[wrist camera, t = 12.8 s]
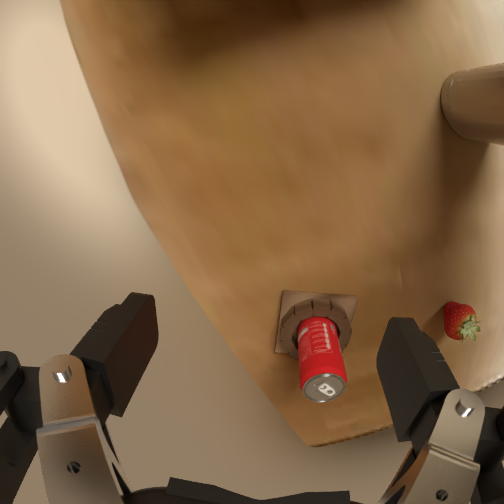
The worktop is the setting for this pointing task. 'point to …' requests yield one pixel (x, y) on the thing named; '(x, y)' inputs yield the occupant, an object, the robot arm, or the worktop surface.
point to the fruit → (459, 321)
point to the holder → (309, 305)
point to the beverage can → (320, 360)
